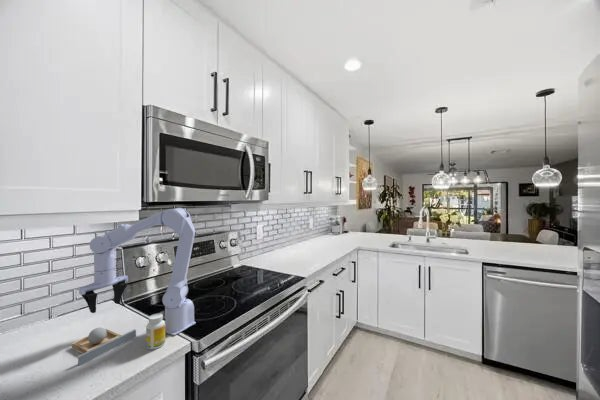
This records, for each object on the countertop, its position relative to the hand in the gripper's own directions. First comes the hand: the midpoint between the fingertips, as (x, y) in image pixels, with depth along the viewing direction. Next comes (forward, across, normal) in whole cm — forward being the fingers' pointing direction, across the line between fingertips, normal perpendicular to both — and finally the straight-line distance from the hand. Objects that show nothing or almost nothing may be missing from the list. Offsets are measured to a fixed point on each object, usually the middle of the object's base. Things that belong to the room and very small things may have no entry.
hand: (105, 307), depth 89 cm
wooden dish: (+9, +5, +4) cm, 11 cm away
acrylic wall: (+9, +5, +11) cm, 15 cm away
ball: (+9, +5, +4) cm, 11 cm away
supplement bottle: (+10, -3, +22) cm, 24 cm away
